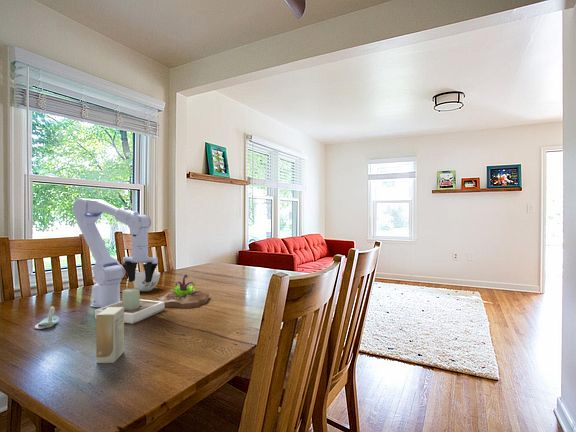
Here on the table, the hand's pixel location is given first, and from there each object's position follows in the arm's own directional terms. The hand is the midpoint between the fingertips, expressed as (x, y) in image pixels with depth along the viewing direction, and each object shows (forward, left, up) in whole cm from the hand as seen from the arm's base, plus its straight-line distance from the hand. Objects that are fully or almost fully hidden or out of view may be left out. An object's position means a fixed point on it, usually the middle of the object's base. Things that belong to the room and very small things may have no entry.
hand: (140, 281), depth 122 cm
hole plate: (+1, -6, -10) cm, 12 cm away
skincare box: (+22, -36, -11) cm, 44 cm away
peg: (+1, -6, -10) cm, 11 cm away
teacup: (-20, +26, -11) cm, 34 cm away
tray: (+1, -6, -10) cm, 12 cm away
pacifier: (-15, -24, -11) cm, 31 cm away
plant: (+9, +15, -11) cm, 21 cm away
